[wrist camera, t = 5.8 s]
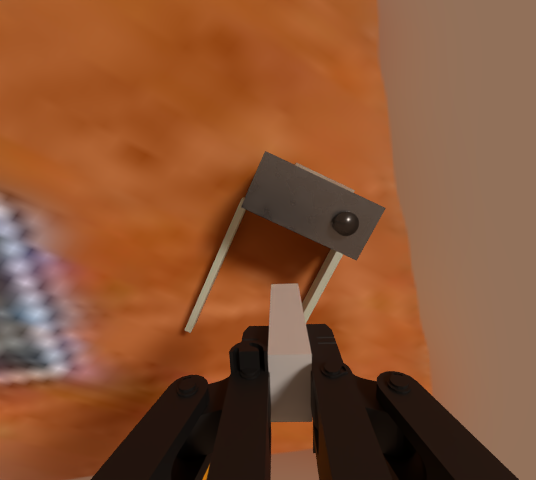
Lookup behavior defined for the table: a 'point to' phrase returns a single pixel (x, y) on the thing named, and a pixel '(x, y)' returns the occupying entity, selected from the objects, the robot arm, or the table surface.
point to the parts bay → (310, 298)
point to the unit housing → (312, 205)
